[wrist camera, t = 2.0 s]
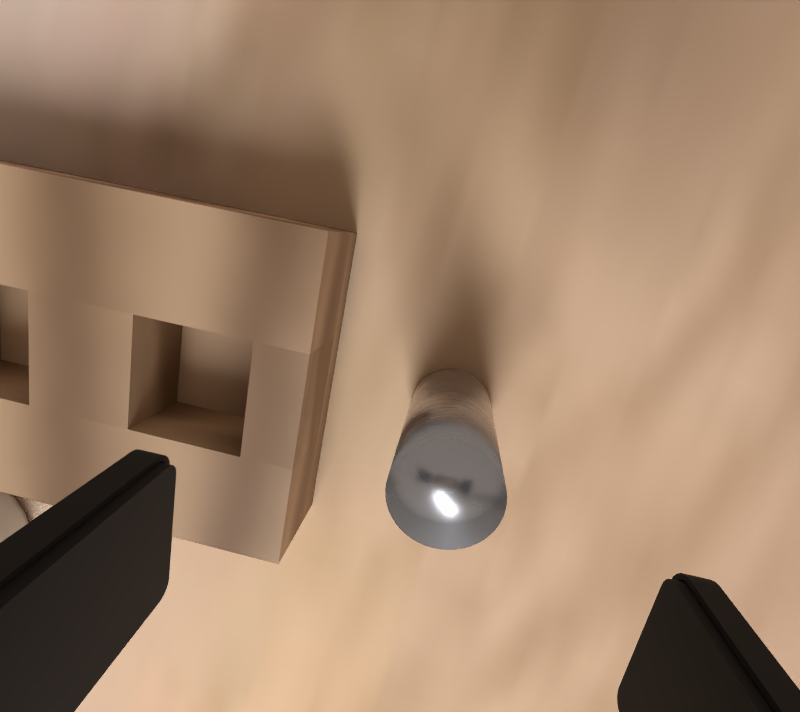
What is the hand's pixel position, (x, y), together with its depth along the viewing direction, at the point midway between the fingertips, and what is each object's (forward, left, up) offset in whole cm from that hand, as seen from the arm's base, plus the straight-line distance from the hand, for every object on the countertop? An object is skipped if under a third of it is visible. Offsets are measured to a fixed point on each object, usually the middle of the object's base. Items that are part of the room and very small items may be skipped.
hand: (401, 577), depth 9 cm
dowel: (-1, 0, -11) cm, 11 cm away
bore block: (+12, 0, -11) cm, 16 cm away
